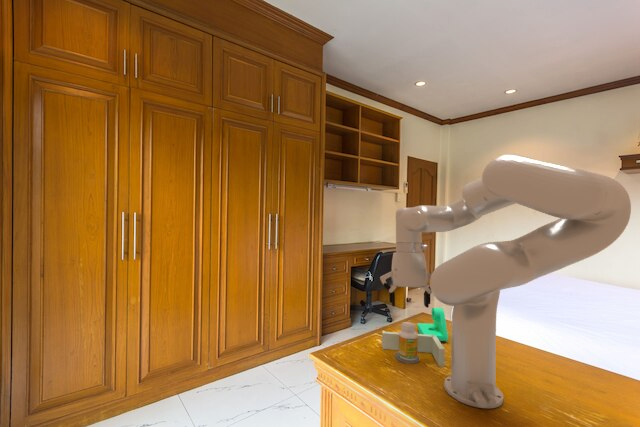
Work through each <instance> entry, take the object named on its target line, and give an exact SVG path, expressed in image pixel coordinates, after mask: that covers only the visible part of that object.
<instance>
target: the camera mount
mask: <svg viewBox="0 0 640 427" xmlns="http://www.w3.org/2000/svg"><path fill="white" fill-rule="evenodd" d="M431 319H432V321H433V323H424V322H423V323H422V322H417V326H416V327H417V329H418V334H425V335H435V336H437V338H438V339H439V341H440V342H448V341H449V334H448V329H447V328H448V327H447V321H446V315H445V310H444V308H443V307H432V308H431Z"/></svg>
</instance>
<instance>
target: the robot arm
mask: <svg viewBox="0 0 640 427" xmlns="http://www.w3.org/2000/svg"><path fill="white" fill-rule="evenodd" d="M481 175H482V176H481V177H479V178H476V179H475V180H473V181H470V182H468V183H467V184H465V185H464V186H463V187H462V189H461V198H460V199H458V200H455V201H453V202H451V203H448V204H446V205H443V206H442V205H423V204H422V205H418V206H414V207H400V208H398V209H396V211H395V252H393V253H392V254H393V255H392V259H391V271H389V272H387V273H385V274H383V275H381V276H380V277H379V279H380V282H381V284H382V285H383V287H384V288H385V289H386V290H387V291H388V297H389V299H388V300H389V304H390V303H391V306H392V307H396V294H395V290H396V289H397V288H398V287H399V288H401V287H402V288H423V290H424V292H423V306H425V308H426V309H427V308H429V306H430V305H431V294H432V295H433V297H435V299H436V300H438V302H440V303H442V304H444V305H447V306H450V307H451V306H453V307H452V312H451V338H450V339H451V342H450V344H451V350H450V351H451V352H450V353H451V355H450V356H451V358H450V359H451V360H450V363H451V364H450V365H451V366H450V368H451V369H450V374H451V375H449V376H447V377H446V378H445V379H444V381H443V386H444V390H445V391H446V393H447V394H448V395H449V396H450V397H452V398H453V399H455V400H456V401H457V402H460V403H462V404H465V405H468V406H469V407H474V408H479V409H494V408H495V409H496V408H498V407H501V406H502V404H503V402H504V394H503V392H502V390H500V388H499V387H497V386H496V375H497V374H496V365H497V364H496V363H497V360H496V359H497V358H496V356H497V354H496V353H497V352H496V351H497V350H496V349H497V348H496V342H497V336H496V335H497V313H498V312H497V310H498V305H499V299H500V293H501V291H503V290H506V289H511V288H515V287H520V286H523V285H526V284H528V283H530V282H532V281H534V280H537V279H538V278H542V277H544V276H546V275H549V274H552V273H554V272H556V271H560V270H562V269H564V268H567V267H568V266H571V265H573V264H576V263H578V262H581V261H584V260H585V259H588V258H591V257H593V256H594V255H597V254H599V253H601V252H602V251H604V250H605V249H607V248H608V247H610V246H611V245H612V244H613V243H614V242H616V241H617V240H618V239H619V238H620V237H621V236H622V234H623V233H624V231H625V230H626V228H627V226H628V224H629V222H630V219H631V213H632V204H631V198H630V195H629V193H628V191H627V190H626V188H625V186H624V185H622V183H621V182H619V181H618V180H615V179H614V178H612V177H609V176H607V175H603V174H599V173H596V172H591V171H588V170H587V171H586V170H584V169H578V168H575V167H574V168H573V167H570V166H564V165H559V164H556V163H551V162H547V161H541V160H537V159H535V158H532V157H528V156H523V155H520V154H515V153H505V154H502V155H498V156H497V157H495V158H493V159H492V160H490V161H489V162H488V163H487V164H486V165H485V167H484V168H483V172H482V174H481ZM515 204H517V205H520V206H523V207H526V208H528V209H532V210H534V211H536V212H537V211H538V212H540V213H542V214H545V215H548V216H551V217H555V218H558V219H556V220H554V221H551V222H548V223H547V224H544V225H542V226H540V227H537V228H535V229H534V230H532V231H530V232H528V233H526V234H524V235H522V236H520V237H517V238H515V239H511V240H505V241H504V240H503V241H490V242H489V241H488V242H484V243H480V244H478V245H475V246H473V247H471V248H469V249H467V250H465V251H463V252H461V253H459V254H457V255H456V256H454V257H452V258H450V259H448V260H446V261H445V262H443V263H441V264H439V265H438V266H437V267H436V268H435V269H434V270H433V271H432V274H431V273H430V272H428V270H427V269H428V267H427V260H426V256H425V253H424V252H423V251H424V250H428V245H427V244H424V243H423V242H422V241H423V237H422V235H423V233H447V232H451V231H454V230H457V229H459V228H462V227H466V226H467V225H470V224H472V223H475V222H476V221H478V220H479V219H481V218H482V217H483V216H486V215H488V214H491V213H494V212H497V211H499V210H501V209H504V208H507V207H509V206H513V205H515ZM389 278H391V282H392V283H391V284H390V285H389V284H388V283H387V281H386V280H387V279H389ZM428 279H429V286H428Z"/></svg>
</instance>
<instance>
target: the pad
mask: <svg viewBox="0 0 640 427" xmlns="http://www.w3.org/2000/svg"><path fill="white" fill-rule="evenodd" d="M394 358H395V359H396V360H397V361H399V362H401V363H404V364H411V365H412V364H417V363H419V362H420V357H419V355H417V359H416V360H413V361H408V360H404V359H402V358H401V357H400V356H399V351H398V352H396V353H395V354H394Z"/></svg>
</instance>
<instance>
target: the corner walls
mask: <svg viewBox="0 0 640 427" xmlns="http://www.w3.org/2000/svg"><path fill="white" fill-rule="evenodd" d="M417 335H418V348H417V353H429V354H430V353H431V355H433V358H434V359H435V361H436V364H437V365H438V367H443V368H444V367H445V365H446V364H445V362H446V361H445V360H446V359H445V351H446V350H445V347H444V346H443V344H442V343H441V341H439V339H438V338H437V336H435V335H425V334H419V333H417ZM381 349H382V350H393V351H394V350H395V351H399V332H394V331H383V330H382V333H381Z"/></svg>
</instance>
